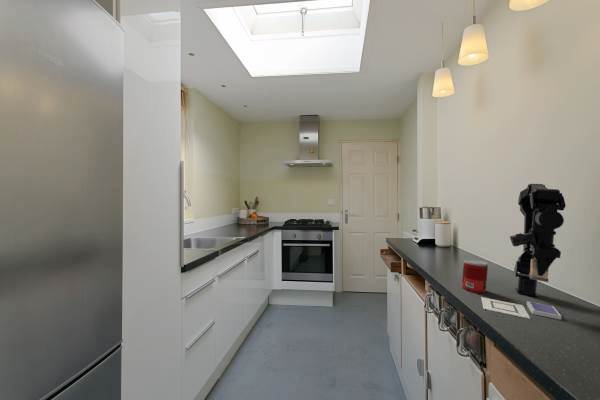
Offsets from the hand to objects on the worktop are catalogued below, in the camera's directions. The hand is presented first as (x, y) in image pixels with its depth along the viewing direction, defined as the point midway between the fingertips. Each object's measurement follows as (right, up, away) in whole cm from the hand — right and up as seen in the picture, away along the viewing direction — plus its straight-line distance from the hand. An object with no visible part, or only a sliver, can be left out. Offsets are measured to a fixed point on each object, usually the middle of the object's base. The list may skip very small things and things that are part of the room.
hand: (538, 274), depth 95 cm
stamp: (0, -2, 0) cm, 2 cm away
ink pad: (0, -12, -1) cm, 12 cm away
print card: (-11, -11, +1) cm, 16 cm away
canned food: (-11, -11, +18) cm, 23 cm away
